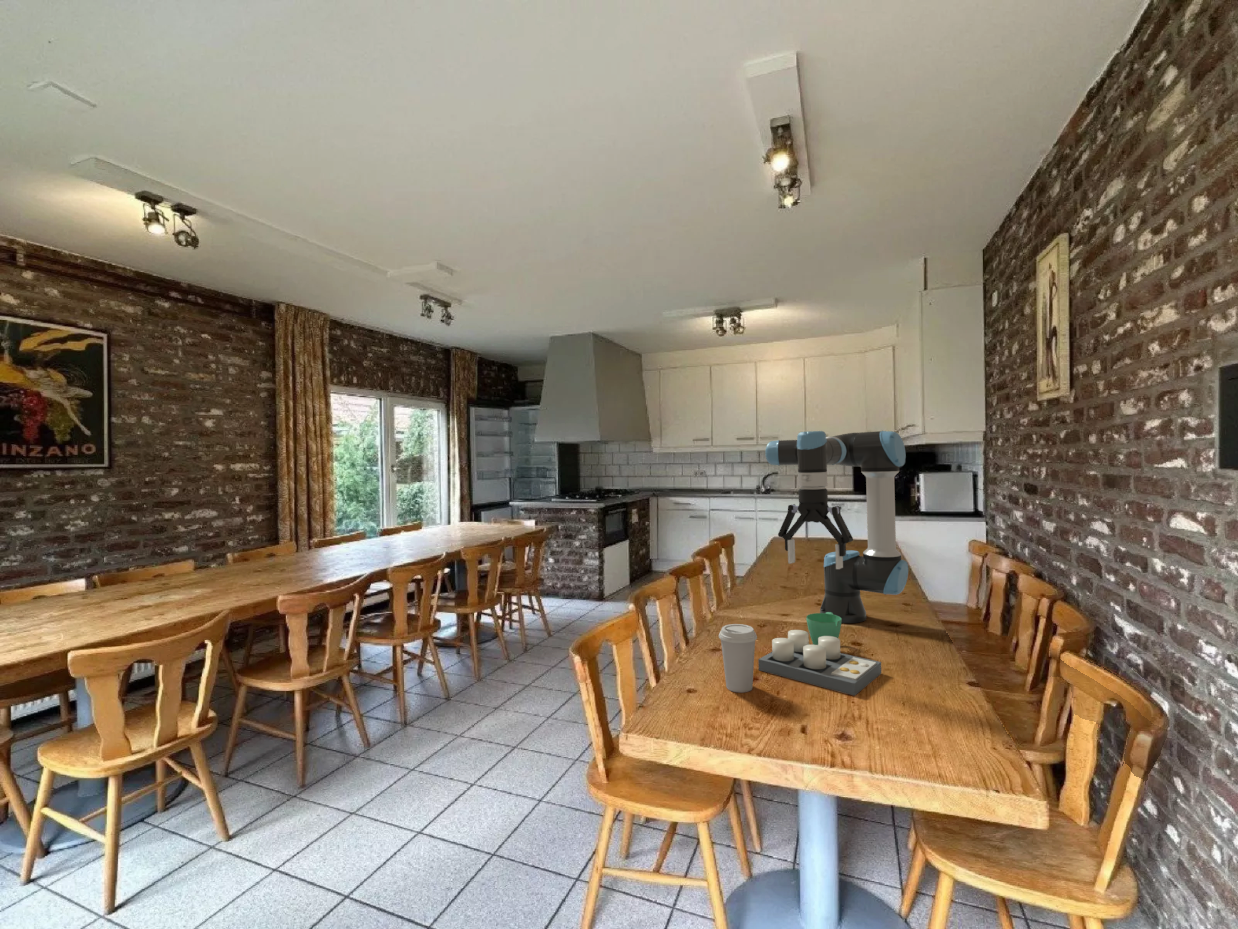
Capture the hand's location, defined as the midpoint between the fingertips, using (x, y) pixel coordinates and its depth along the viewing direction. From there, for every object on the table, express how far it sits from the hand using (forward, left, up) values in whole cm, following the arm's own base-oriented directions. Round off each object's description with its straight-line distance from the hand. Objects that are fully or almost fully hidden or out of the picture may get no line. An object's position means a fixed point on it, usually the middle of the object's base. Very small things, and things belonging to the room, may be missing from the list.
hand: (814, 565), depth 156 cm
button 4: (-2, +3, -25) cm, 25 cm away
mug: (-15, -4, -28) cm, 32 cm away
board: (+3, +2, -28) cm, 28 cm away
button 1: (+7, -6, -25) cm, 27 cm away
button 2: (-2, -6, -25) cm, 26 cm away
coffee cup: (+25, -9, -28) cm, 39 cm away
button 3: (+7, +3, -25) cm, 26 cm away
